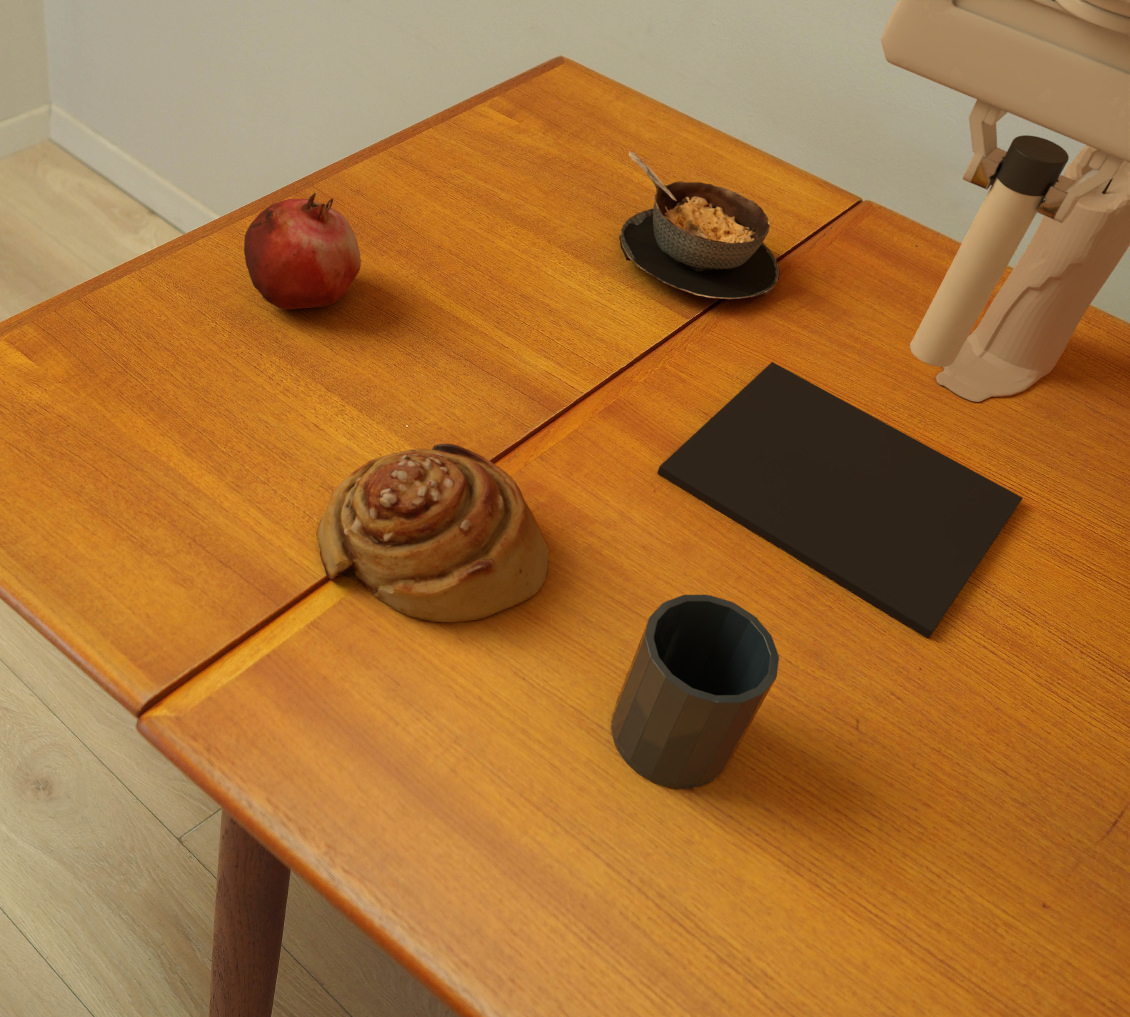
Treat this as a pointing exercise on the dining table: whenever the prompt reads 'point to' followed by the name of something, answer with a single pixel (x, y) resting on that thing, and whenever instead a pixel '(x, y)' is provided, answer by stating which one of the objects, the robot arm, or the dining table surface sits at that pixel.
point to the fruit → (301, 254)
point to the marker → (988, 247)
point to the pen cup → (693, 690)
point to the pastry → (435, 535)
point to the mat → (845, 495)
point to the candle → (1046, 292)
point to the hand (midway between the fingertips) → (1015, 198)
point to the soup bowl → (702, 240)
